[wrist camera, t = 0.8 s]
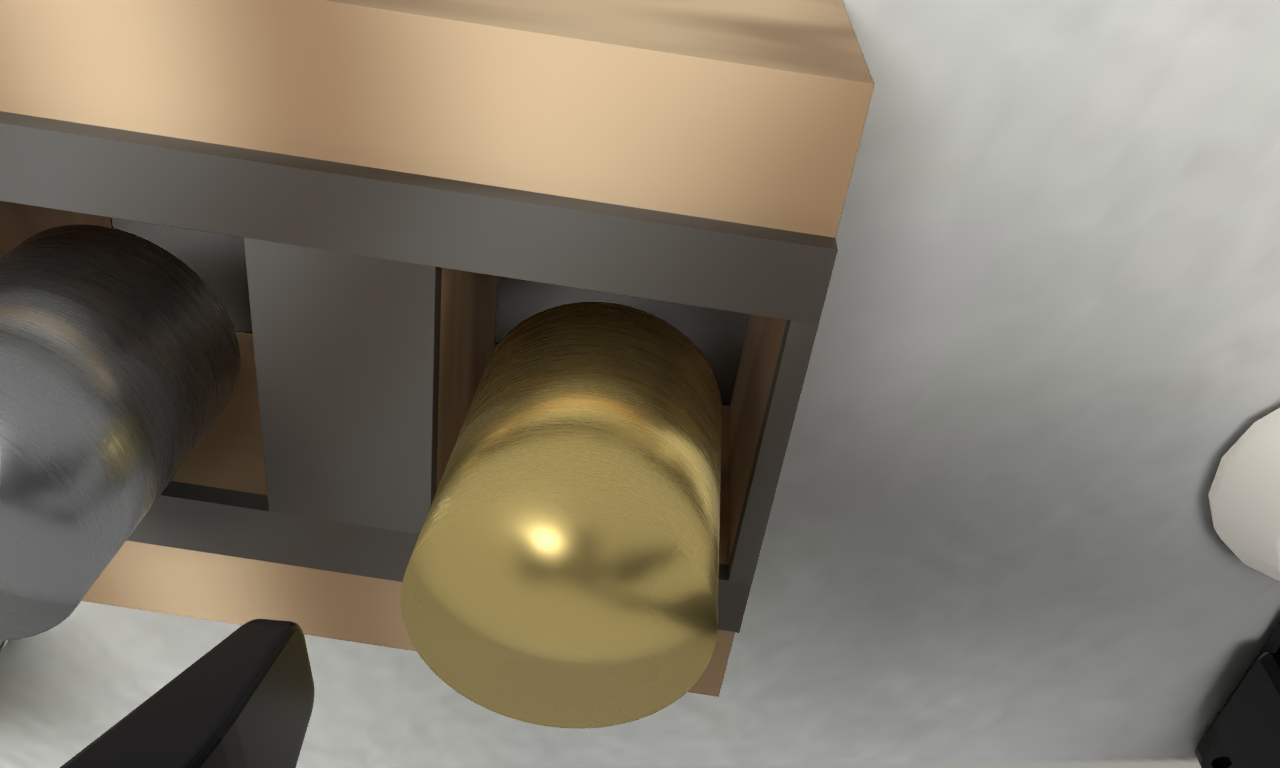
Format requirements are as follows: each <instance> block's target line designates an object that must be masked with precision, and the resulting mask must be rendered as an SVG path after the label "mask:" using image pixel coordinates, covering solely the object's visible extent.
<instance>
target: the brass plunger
mask: <svg viewBox="0 0 1280 768" xmlns="http://www.w3.org/2000/svg"><path fill="white" fill-rule="evenodd" d="M721 436H722V401H721V395H720V390H719V386H718V383H717V380H716V378H715V375H714V373H713V371H712V369H711V367H710V365H709V363H708V361H707V360H706V359H705V357H704V356H703V355H702V353H701V352H700V350H699V349H698V348H697V347H696V346H695V345H694V344H693V343H692V342H691V341H690V340H689V339H688V338H687V337H686V336H685V335H684V334H682V333H681V332H680V331H679V330H677V329H676V328H675V327H673V326H671V325H670V324H668V323H667V322H665V321H663V320H662V319H660V318H658V317H656V316H653V315H651V314H649V313H647V312H644V311H641V310H638V309H635V308H632V307H628V306H624V305H619V304H614V303H603V302H580V303H573V304H566V305H561V306H558V307H554V308H550V309H547V310H545V311H542V312H540V313H538V314H535V315H533V316H531V317H530V318H528V319H526V320H525V321H523V322H521V323H520V324H519V325H517V326H516V327H515V328H513V329H512V330H511V331H510V332H509V333H508V334H507V335H506V336H505V337H504V338H503V339H502V340H501V341H500V342H499V344H498V345H497V347H496V348H495V349H494V351H493V352H492V354H491V356H490V358H489V360H488V362H487V364H486V367H485V369H484V372H483V374H482V377H481V380H480V382H479V385H478V387H477V390H476V392H475V395H474V397H473V400H472V402H471V405H470V408H469V410H468V413H467V415H466V418H465V420H464V423H463V425H462V428H461V431H460V433H459V436H458V438H457V441H456V443H455V446H454V448H453V451H452V454H451V456H450V459H449V461H448V464H447V466H446V469H445V471H444V474H443V476H442V479H441V482H440V484H439V487H438V489H437V492H436V494H435V497H434V499H433V502H432V505H431V507H430V510H429V512H428V515H427V517H426V520H425V522H424V525H423V527H422V530H421V533H420V535H419V538H418V540H417V543H416V545H415V548H414V550H413V553H412V556H411V558H410V561H409V563H408V566H407V568H406V571H405V575H404V578H403V582H402V587H401V598H400V600H401V612H402V617H403V621H404V624H405V628H406V631H407V633H408V635H409V637H410V640H411V642H412V644H413V645H414V647H415V649H416V650H417V652H418V653H419V655H420V657H421V658H422V659H423V660H424V661H425V663H426V664H427V665H428V666H429V667H430V669H431V670H432V671H433V672H434V673H435V674H436V675H437V676H439V677H440V678H441V679H442V680H443V681H444V682H445V683H446V684H448V685H449V686H450V687H452V688H453V689H454V690H456V691H457V692H458V693H460V694H461V695H463V696H465V697H466V698H468V699H470V700H471V701H473V702H475V703H477V704H479V705H481V706H483V707H485V708H487V709H489V710H491V711H494V712H496V713H499V714H502V715H504V716H507V717H510V718H514V719H517V720H521V721H524V722H528V723H533V724H538V725H543V726H551V727H560V728H596V727H606V726H612V725H618V724H623V723H626V722H630V721H634V720H638V719H640V718H643V717H646V716H648V715H651V714H653V713H655V712H657V711H659V710H661V709H663V708H665V707H667V706H669V705H670V704H672V703H673V702H675V701H676V700H677V699H679V698H680V697H682V696H683V695H684V694H685V693H686V692H687V691H688V690H689V689H691V688H692V687H693V686H694V685H695V683H696V682H697V681H698V680H699V678H700V677H701V676H702V674H703V673H704V671H705V669H706V668H707V666H708V664H709V662H710V660H711V657H712V654H713V652H714V649H715V644H716V637H717V623H718V576H719V530H720V483H721Z"/></svg>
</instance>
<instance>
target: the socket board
mask: <svg viewBox="0 0 1280 768" xmlns="http://www.w3.org/2000/svg"><path fill="white" fill-rule="evenodd" d="M873 88H874V82H873V79H872V77H871V74H870V72H869V69H868V66H867V64H866V61H865V59H864V56H863V53H862V51H861V48H860V45H859V43H858V40H857V38H856V35H855V32H854V30H853V27H852V25H851V22H850V19H849V17H848V14H847V12H846V9H845V6H844V4H843V1H842V0H0V258H1V257H3V256H4V255H6V254H7V253H8V252H10V251H11V250H12V249H14V248H15V247H17V246H18V245H19V244H21V243H22V242H24V241H25V240H26V239H28V238H29V237H31V236H33V235H35V234H37V233H39V232H41V231H44V230H47V229H50V228H53V227H59V226H64V225H77V224H87V225H98V226H104V227H109V228H112V225H111V220H110V217H111V218H118V219H125V220H131V221H138V222H144V223H151V224H158V225H164V226H171V227H177V228H184V229H191V230H197V231H204V232H210V233H217V234H224V235H230V236H237V237H243V238H244V247H245V257H246V268H247V279H248V290H249V301H250V311H251V322H252V333H253V334H249V333H243V332H236V331H235V333H236V336H237V339H238V344H239V349H240V356H241V370H240V377H239V382H238V385H237V388H236V391H235V393H234V395H233V397H232V399H231V401H230V403H229V404H228V405H227V407H226V408H225V409H224V411H223V412H222V413H221V415H220V416H219V417H218V419H217V420H216V421H215V423H214V424H213V425H212V427H211V428H210V429H209V431H208V432H207V433H206V435H205V436H204V437H203V439H202V440H201V441H200V443H199V444H198V445H197V447H196V448H195V449H194V451H193V452H192V453H191V455H190V456H189V457H188V459H187V460H186V461H185V463H184V464H183V465H182V467H181V468H180V469H179V471H178V472H177V473H176V475H175V476H174V477H173V479H172V480H171V481H170V483H169V484H168V485H167V487H166V488H165V489H164V491H163V492H162V493H161V495H160V496H159V497H158V499H157V500H156V501H155V503H154V504H153V505H152V507H151V508H150V509H149V511H148V512H147V513H146V515H145V516H144V517H143V519H142V520H141V521H140V523H139V524H138V525H137V527H136V528H135V529H134V531H133V532H132V533H131V535H130V536H129V537H128V539H127V540H126V541H125V543H124V544H123V545H122V547H121V548H120V549H119V551H118V552H117V553H116V555H115V556H114V557H113V559H112V560H111V561H110V563H109V564H108V565H107V567H106V568H105V569H104V571H103V572H102V573H101V575H100V576H99V577H98V579H97V580H96V581H95V583H94V584H93V585H92V587H91V588H90V589H89V591H88V592H87V593H86V595H85V596H84V597H83V599H82V600H81V601H87V602H93V603H100V604H107V605H113V606H120V607H127V608H133V609H140V610H147V611H153V612H160V613H167V614H173V615H180V616H186V617H193V618H200V619H206V620H213V621H220V622H226V623H233V624H240V625H244V624H245V623H247V622H249V621H251V620H254V619H270V620H281V621H292V622H294V623H297V624H298V625H299V626H300V627H301V629H302V631H303V634H306V635H313V636H319V637H326V638H333V639H339V640H346V641H353V642H359V643H366V644H373V645H379V646H386V647H393V648H399V649H406V650H412V651H417V650H416V649H415V647H414V645H413V644H412V642H411V640H410V637H409V635H408V633H407V631H406V628H405V624H404V621H403V617H402V612H401V600H400V598H401V587H402V582H403V578H404V575H405V571H406V568H407V566H408V563H409V561H410V558H411V556H412V553H413V550H414V548H415V545H416V543H417V540H418V538H419V535H420V533H421V530H422V527H423V525H424V522H425V520H426V517H427V515H428V512H429V510H430V507H431V505H432V502H433V499H434V497H435V494H436V492H437V489H438V487H439V484H440V482H441V479H442V476H443V474H444V471H445V469H446V466H447V464H448V461H449V459H450V456H451V454H452V451H453V448H454V446H455V443H456V441H457V438H458V436H459V433H460V431H461V428H462V425H463V423H464V420H465V418H466V415H467V413H468V410H469V408H470V405H471V402H472V400H473V397H474V395H475V392H476V390H477V387H478V385H479V382H480V380H481V377H482V374H483V372H484V369H485V367H486V364H487V362H488V360H489V358H490V356H491V354H492V352H493V351H494V338H495V321H496V304H497V287H498V276H501V277H507V278H514V279H521V280H527V281H534V282H540V283H547V284H554V285H560V286H567V287H574V288H580V289H587V290H593V291H600V292H607V293H613V294H620V295H626V296H633V297H640V298H646V299H653V300H659V301H666V302H673V303H679V304H686V305H692V306H699V307H706V308H712V309H719V310H725V311H732V312H739V313H745V314H750V316H749V321H748V325H747V330H746V335H745V339H744V344H743V349H742V353H741V358H740V363H739V367H738V372H737V377H736V381H735V386H734V391H733V395H732V400H731V405H730V406H726V405H722V436H721V483H720V530H719V576H718V623H717V637H716V644H715V649H714V652H713V654H712V657H711V660H710V662H709V664H708V666H707V668H706V669H705V671H704V673H703V674H702V676H701V677H700V678H699V680H698V681H697V682H696V683H695V685H694V686H693V687H692V688H691V689H689V690H688V691H687V692H692V693H698V694H705V695H712V696H718V697H719V693H720V689H721V685H722V681H723V677H724V673H725V669H726V665H727V661H728V657H729V653H730V649H731V646H732V642H733V638H734V634H735V632H737V633H739V631H740V627H741V623H742V619H743V615H744V611H745V607H746V603H747V600H748V596H749V592H750V588H751V584H752V580H753V576H754V572H755V569H756V565H757V561H758V557H759V553H760V549H761V545H762V541H763V537H764V534H765V530H766V526H767V522H768V518H769V514H770V510H771V506H772V503H773V499H774V495H775V491H776V487H777V483H778V479H779V475H780V472H781V468H782V464H783V460H784V456H785V452H786V448H787V444H788V440H789V437H790V433H791V429H792V425H793V421H794V417H795V413H796V409H797V406H798V402H799V398H800V394H801V390H802V386H803V382H804V378H805V374H806V371H807V367H808V363H809V359H810V355H811V351H812V347H813V343H814V340H815V336H816V332H817V328H818V324H819V320H820V316H821V312H822V309H823V305H824V301H825V297H826V293H827V289H828V285H829V281H830V277H831V274H832V270H833V266H834V262H835V258H836V254H837V250H838V249H837V244H836V239H835V237H836V233H837V229H838V225H839V221H840V217H841V213H842V209H843V205H844V202H845V198H846V194H847V190H848V186H849V182H850V178H851V174H852V170H853V166H854V162H855V158H856V154H857V150H858V147H859V143H860V139H861V135H862V131H863V127H864V123H865V119H866V115H867V111H868V107H869V103H870V99H871V95H872V91H873Z"/></svg>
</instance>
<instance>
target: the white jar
mask: <svg viewBox="0 0 1280 768" xmlns="http://www.w3.org/2000/svg"><path fill="white" fill-rule="evenodd" d="M1208 496H1209V502H1210V508H1211V514H1212V519H1213V525H1214V529H1215V530H1216V532H1217V534H1218V535H1219V537H1220V539H1221V540H1222V541H1223V542H1224V543H1225V544H1226V545H1227V546H1228V547H1229V548H1230V549H1231V551H1232V552H1233V553H1234V554H1235V555H1236V556H1237V557H1238V558H1239V559H1240V560H1241V561H1242V563H1243V564H1245V565H1247V566H1249V567H1251V568H1253V569H1255V570H1257V571H1259V572H1261V573H1263V574H1265V575H1267V576H1269V577H1271V578H1273V579H1275V580H1277V581H1279V582H1280V408H1278V409H1276V410H1275V411H1273V412H1271V413H1269V414H1268V415H1266V416H1264V417H1263V418H1261V419H1259V420H1257V421H1256V422H1254V423H1253V424H1252V425H1251V426H1250V428H1249V429H1248V430H1247V431H1246V432H1245V433H1244V434H1243V435H1242V436H1241V437H1240V438H1239V439H1238V441H1237V442H1236V443H1235V444H1234V445H1233V446H1232V447H1231V448H1230V449H1229V450H1228V451H1227V452H1226V454H1225V455H1224V456H1223V457H1222V459H1221V461H1220V464H1219V467H1218V469H1217V472H1216V475H1215V477H1214V480H1213V483H1212V486H1211V488H1210V491H1209V494H1208Z"/></svg>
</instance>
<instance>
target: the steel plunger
mask: <svg viewBox="0 0 1280 768" xmlns="http://www.w3.org/2000/svg"><path fill="white" fill-rule="evenodd" d="M240 370H241V356H240V349H239V344H238V339H237V336H236V333H235V330H234V327H233V325H232V323H231V321H230V318H229V316H228V314H227V312H226V311H225V309H224V307H223V306H222V304H221V303H220V301H219V299H218V298H217V297H216V296H215V294H214V293H213V292H212V290H211V289H210V288H209V287H208V285H207V284H206V283H205V282H204V281H203V280H202V279H201V278H200V277H199V276H198V275H197V274H196V273H195V272H194V271H193V270H191V269H190V268H189V267H188V266H187V265H186V264H184V263H183V262H182V261H181V260H179V259H178V258H176V257H175V256H174V255H172V254H171V253H169V252H168V251H166V250H164V249H163V248H161V247H159V246H157V245H156V244H154V243H152V242H150V241H148V240H145V239H143V238H141V237H139V236H136V235H134V234H131V233H128V232H124V231H121V230H118V229H114V228H109V227H104V226H98V225H87V224H77V225H64V226H59V227H53V228H50V229H47V230H44V231H41V232H39V233H37V234H35V235H33V236H31V237H29V238H28V239H26V240H25V241H24V242H22V243H21V244H19V245H18V246H17V247H15V248H14V249H12V250H11V251H10V252H8V253H7V254H6V255H4V256H3V257H1V258H0V641H4V640H14V639H21V638H25V637H30V636H34V635H37V634H40V633H42V632H45V631H48V630H49V629H51V628H53V627H55V626H56V625H58V624H60V623H61V622H62V621H63V620H65V619H66V618H67V617H68V616H69V615H70V614H71V613H72V612H73V610H74V609H75V608H76V607H77V605H78V604H79V603H80V601H81V600H82V599H83V597H84V596H85V595H86V593H87V592H88V591H89V589H90V588H91V587H92V585H93V584H94V583H95V581H96V580H97V579H98V577H99V576H100V575H101V573H102V572H103V571H104V569H105V568H106V567H107V565H108V564H109V563H110V561H111V560H112V559H113V557H114V556H115V555H116V553H117V552H118V551H119V549H120V548H121V547H122V545H123V544H124V543H125V541H126V540H127V539H128V537H129V536H130V535H131V533H132V532H133V531H134V529H135V528H136V527H137V525H138V524H139V523H140V521H141V520H142V519H143V517H144V516H145V515H146V513H147V512H148V511H149V509H150V508H151V507H152V505H153V504H154V503H155V501H156V500H157V499H158V497H159V496H160V495H161V493H162V492H163V491H164V489H165V488H166V487H167V485H168V484H169V483H170V481H171V480H172V479H173V477H174V476H175V475H176V473H177V472H178V471H179V469H180V468H181V467H182V465H183V464H184V463H185V461H186V460H187V459H188V457H189V456H190V455H191V453H192V452H193V451H194V449H195V448H196V447H197V445H198V444H199V443H200V441H201V440H202V439H203V437H204V436H205V435H206V433H207V432H208V431H209V429H210V428H211V427H212V425H213V424H214V423H215V421H216V420H217V419H218V417H219V416H220V415H221V413H222V412H223V411H224V409H225V408H226V407H227V405H228V404H229V403H230V401H231V399H232V397H233V395H234V393H235V391H236V388H237V385H238V382H239V377H240Z"/></svg>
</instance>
